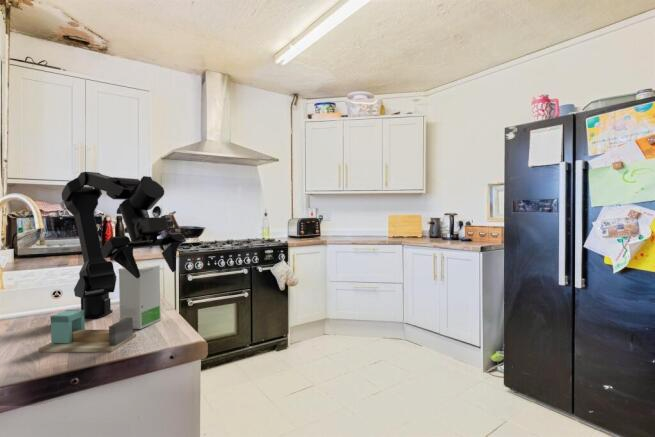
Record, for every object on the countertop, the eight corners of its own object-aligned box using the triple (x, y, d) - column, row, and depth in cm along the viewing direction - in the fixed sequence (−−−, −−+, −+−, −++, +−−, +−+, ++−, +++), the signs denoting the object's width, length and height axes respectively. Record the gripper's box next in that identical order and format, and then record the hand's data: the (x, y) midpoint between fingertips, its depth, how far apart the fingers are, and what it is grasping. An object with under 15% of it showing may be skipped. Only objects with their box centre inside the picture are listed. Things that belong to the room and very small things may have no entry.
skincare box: (139, 330, 87) (138, 269, 86) (117, 328, 88) (116, 268, 88) (162, 319, 95) (161, 264, 94) (141, 318, 96) (140, 263, 96)
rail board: (38, 351, 74) (38, 328, 73) (70, 336, 83) (70, 316, 82) (111, 351, 73) (111, 328, 73) (136, 336, 82) (135, 315, 82)
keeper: (51, 343, 76) (50, 316, 76) (68, 335, 80) (67, 309, 80) (69, 342, 76) (68, 316, 75) (84, 335, 80) (84, 309, 80)
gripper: (112, 202, 76) (134, 264, 72) (185, 203, 92) (207, 254, 88) (91, 228, 81) (111, 287, 77) (164, 224, 97) (184, 273, 93)
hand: (157, 274), depth 83 cm, fingers open, 9 cm apart
